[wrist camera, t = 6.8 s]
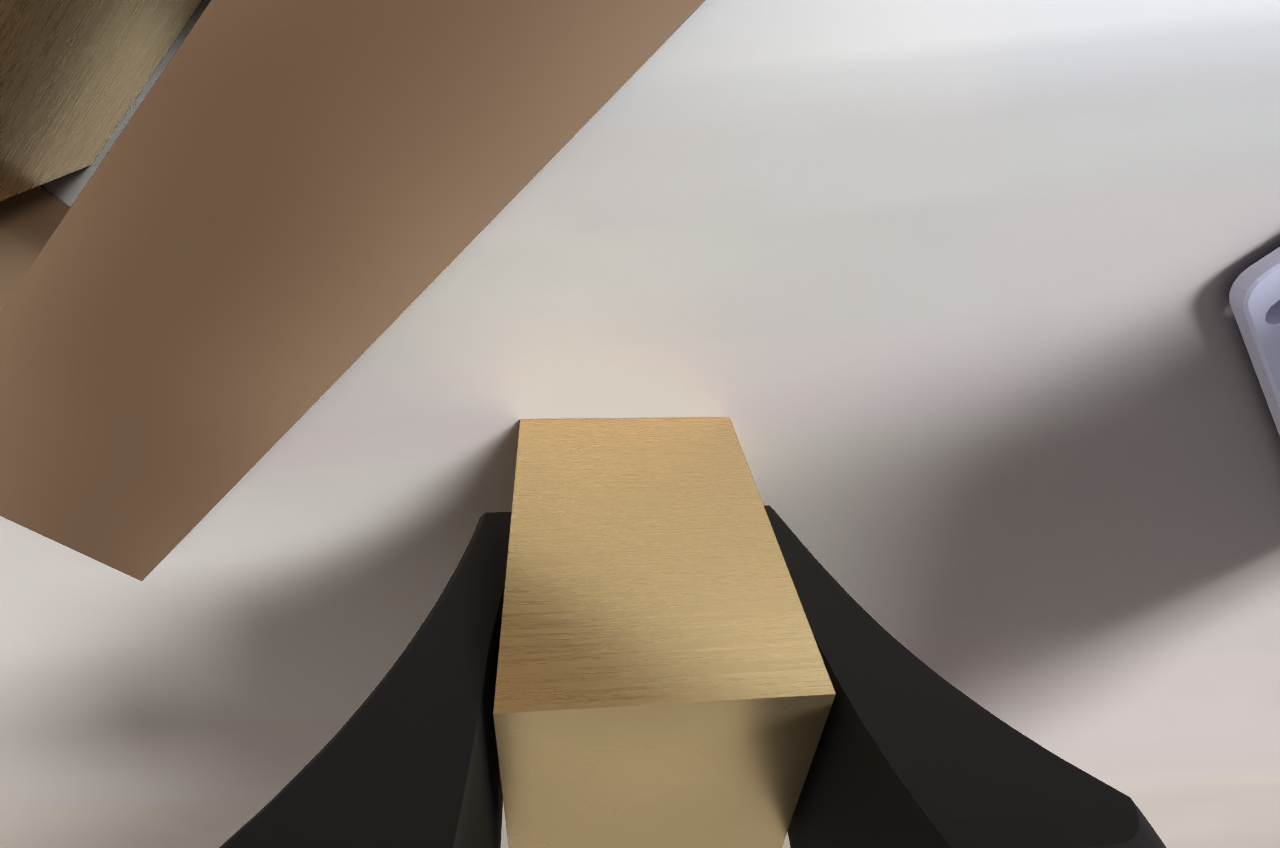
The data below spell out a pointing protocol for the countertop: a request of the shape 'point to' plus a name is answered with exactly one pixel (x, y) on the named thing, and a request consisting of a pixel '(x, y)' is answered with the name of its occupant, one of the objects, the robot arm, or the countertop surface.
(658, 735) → the loose billet
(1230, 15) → the countertop surface
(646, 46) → the wooden socket board
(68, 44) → the block
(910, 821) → the robot arm
